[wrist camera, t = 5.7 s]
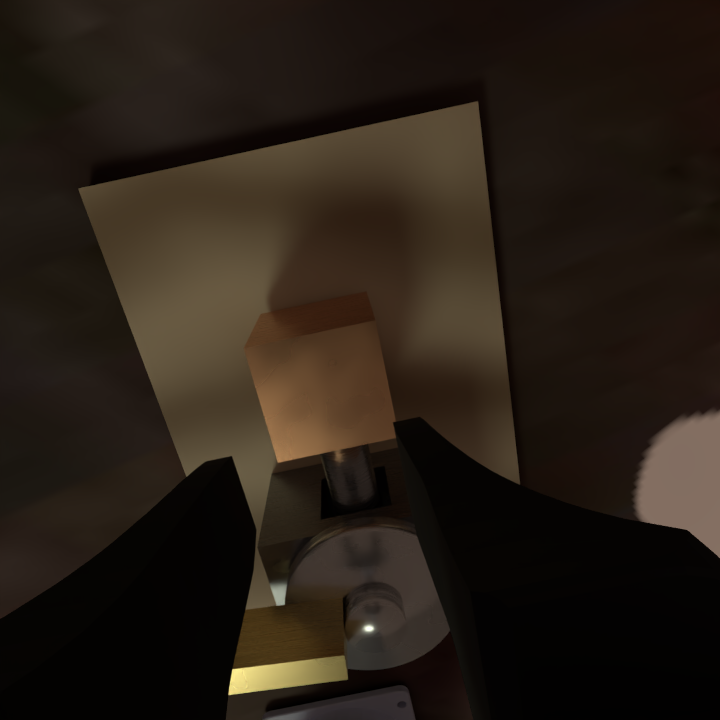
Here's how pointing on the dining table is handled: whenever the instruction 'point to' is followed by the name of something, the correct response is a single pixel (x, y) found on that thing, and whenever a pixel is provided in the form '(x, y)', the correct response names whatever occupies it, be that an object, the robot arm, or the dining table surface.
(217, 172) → the oak board
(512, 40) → the dining table surface
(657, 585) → the robot arm
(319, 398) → the brown blocky piece
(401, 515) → the eye block
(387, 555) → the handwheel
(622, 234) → the dining table surface
